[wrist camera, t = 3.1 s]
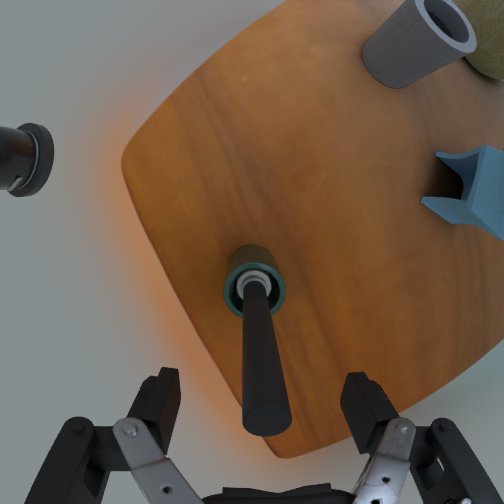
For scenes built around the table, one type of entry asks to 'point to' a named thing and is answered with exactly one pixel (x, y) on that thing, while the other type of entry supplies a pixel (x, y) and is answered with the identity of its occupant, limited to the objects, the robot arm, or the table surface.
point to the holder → (260, 260)
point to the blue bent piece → (475, 190)
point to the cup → (418, 42)
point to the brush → (261, 360)
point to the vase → (486, 35)
